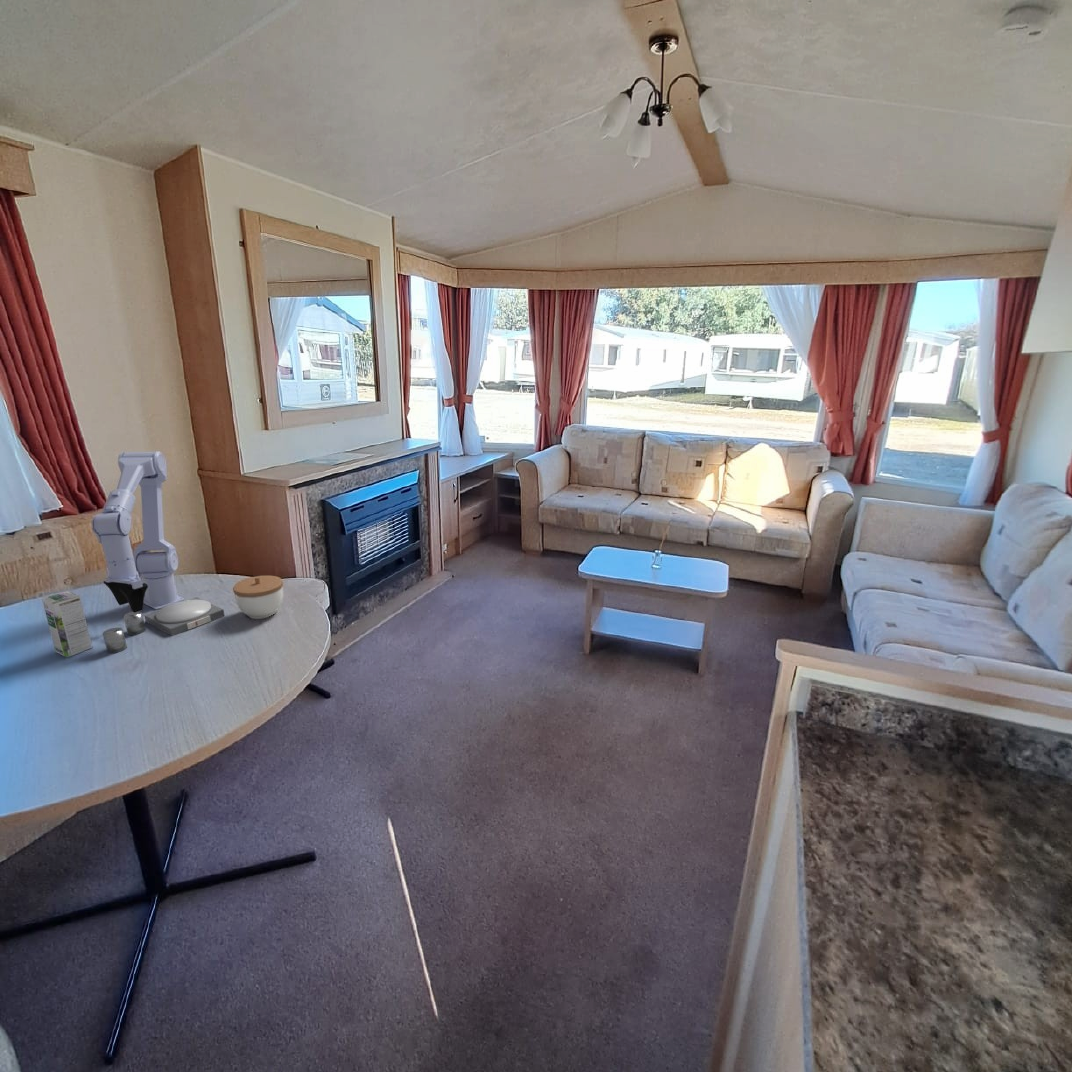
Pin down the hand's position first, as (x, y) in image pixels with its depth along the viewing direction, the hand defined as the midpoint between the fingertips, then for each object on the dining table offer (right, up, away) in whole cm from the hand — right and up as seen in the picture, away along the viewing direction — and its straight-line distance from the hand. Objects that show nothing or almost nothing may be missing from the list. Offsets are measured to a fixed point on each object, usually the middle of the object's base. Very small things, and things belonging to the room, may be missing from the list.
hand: (130, 607), depth 147 cm
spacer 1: (+1, -10, -6) cm, 12 cm away
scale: (+8, -4, +10) cm, 13 cm away
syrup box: (-9, -10, -7) cm, 15 cm away
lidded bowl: (+28, -4, +14) cm, 31 cm away
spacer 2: (0, -7, +2) cm, 7 cm away
